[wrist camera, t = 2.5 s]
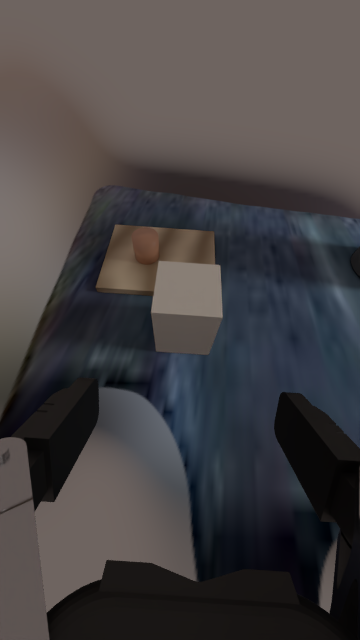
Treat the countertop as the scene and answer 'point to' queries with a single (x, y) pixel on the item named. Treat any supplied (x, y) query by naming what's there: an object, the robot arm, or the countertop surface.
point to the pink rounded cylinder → (146, 245)
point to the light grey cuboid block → (186, 307)
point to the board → (139, 278)
